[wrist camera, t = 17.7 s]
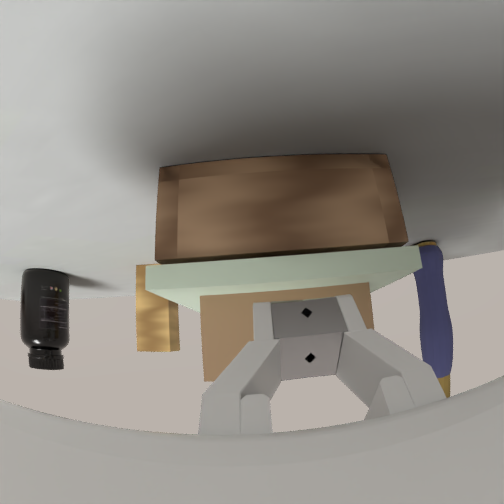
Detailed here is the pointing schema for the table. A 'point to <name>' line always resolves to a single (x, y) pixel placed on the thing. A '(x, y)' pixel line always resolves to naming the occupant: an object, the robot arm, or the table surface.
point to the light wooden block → (155, 318)
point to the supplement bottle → (45, 317)
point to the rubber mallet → (434, 314)
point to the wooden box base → (276, 207)
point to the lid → (272, 290)
